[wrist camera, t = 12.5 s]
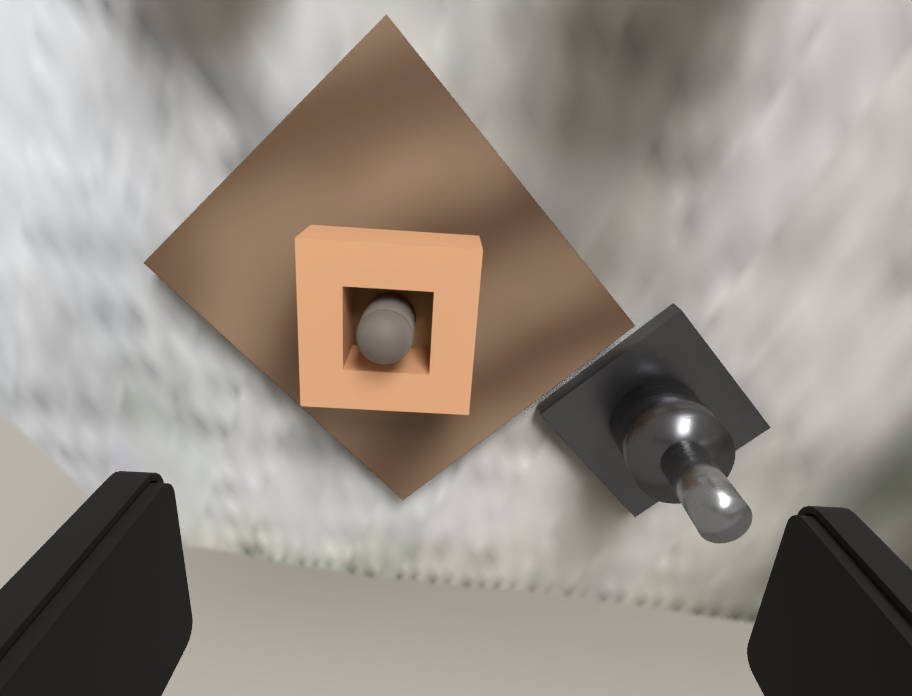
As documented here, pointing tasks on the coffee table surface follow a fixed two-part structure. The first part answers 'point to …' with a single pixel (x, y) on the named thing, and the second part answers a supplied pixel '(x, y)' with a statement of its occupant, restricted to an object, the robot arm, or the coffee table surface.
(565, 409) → the stand
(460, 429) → the toggle switch
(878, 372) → the coffee table surface
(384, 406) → the square peach frame
